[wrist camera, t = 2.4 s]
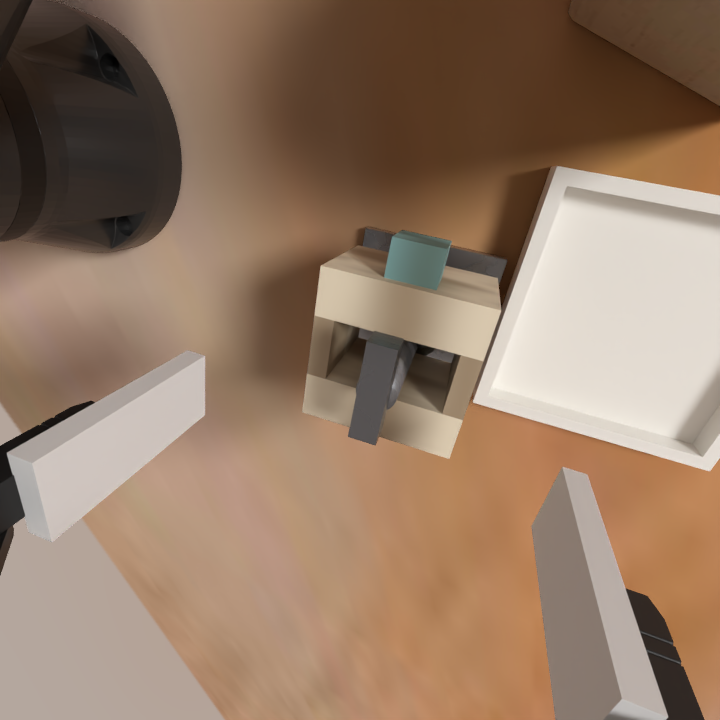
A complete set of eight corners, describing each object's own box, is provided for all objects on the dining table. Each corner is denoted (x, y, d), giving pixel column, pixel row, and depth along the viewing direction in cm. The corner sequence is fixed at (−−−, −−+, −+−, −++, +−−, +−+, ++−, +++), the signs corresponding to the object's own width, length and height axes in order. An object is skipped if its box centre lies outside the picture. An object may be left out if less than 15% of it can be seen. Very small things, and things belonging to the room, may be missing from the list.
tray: (473, 387, 29) (472, 402, 27) (551, 166, 23) (556, 166, 21) (693, 450, 27) (709, 471, 25) (853, 222, 20) (891, 227, 18)
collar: (337, 365, 27) (302, 412, 22) (363, 212, 22) (325, 224, 17) (456, 400, 26) (449, 458, 20) (508, 244, 21) (516, 267, 16)
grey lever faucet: (347, 348, 31) (259, 458, 19) (368, 226, 27) (273, 268, 15) (465, 381, 29) (450, 525, 17) (506, 257, 25) (525, 333, 13)
